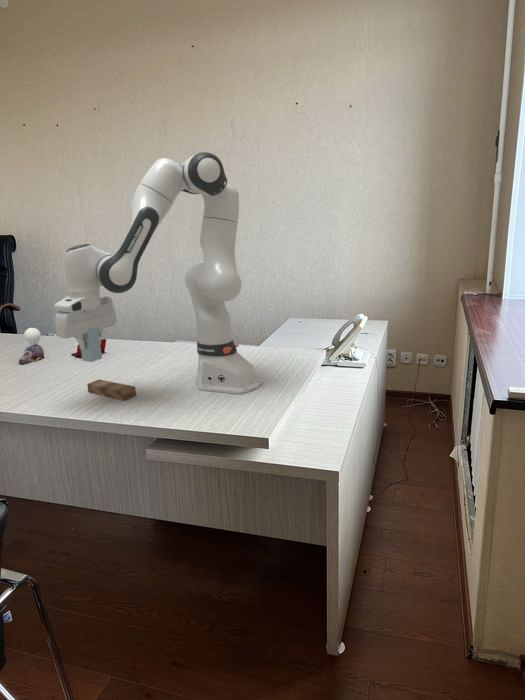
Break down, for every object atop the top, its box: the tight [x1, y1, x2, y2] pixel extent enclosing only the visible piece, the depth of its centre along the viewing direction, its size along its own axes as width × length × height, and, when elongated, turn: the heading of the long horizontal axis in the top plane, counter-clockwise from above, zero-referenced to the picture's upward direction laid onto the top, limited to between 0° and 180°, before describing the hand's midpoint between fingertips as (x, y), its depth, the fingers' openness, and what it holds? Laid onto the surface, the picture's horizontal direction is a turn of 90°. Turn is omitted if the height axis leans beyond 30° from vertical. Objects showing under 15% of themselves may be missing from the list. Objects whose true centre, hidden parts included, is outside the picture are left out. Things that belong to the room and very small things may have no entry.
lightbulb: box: [23, 327, 42, 346], centre depth 217 cm, size 6×6×11 cm
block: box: [81, 327, 103, 363], centre depth 159 cm, size 4×4×10 cm
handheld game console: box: [70, 338, 107, 359], centre depth 213 cm, size 12×10×7 cm
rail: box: [86, 379, 137, 402], centre depth 168 cm, size 16×5×3 cm, turn 59°
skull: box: [18, 343, 45, 365], centre depth 207 cm, size 12×8×6 cm, turn 160°
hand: (90, 346), depth 160 cm, fingers closed on block, 4 cm apart
